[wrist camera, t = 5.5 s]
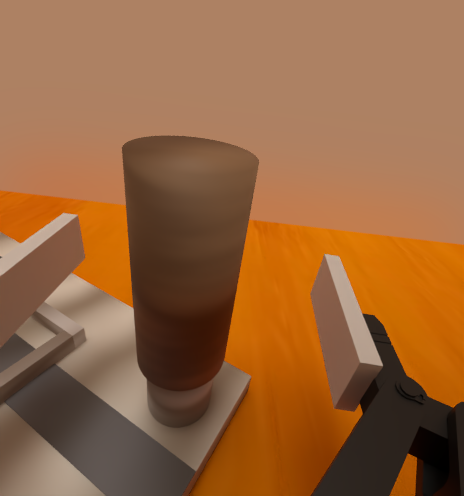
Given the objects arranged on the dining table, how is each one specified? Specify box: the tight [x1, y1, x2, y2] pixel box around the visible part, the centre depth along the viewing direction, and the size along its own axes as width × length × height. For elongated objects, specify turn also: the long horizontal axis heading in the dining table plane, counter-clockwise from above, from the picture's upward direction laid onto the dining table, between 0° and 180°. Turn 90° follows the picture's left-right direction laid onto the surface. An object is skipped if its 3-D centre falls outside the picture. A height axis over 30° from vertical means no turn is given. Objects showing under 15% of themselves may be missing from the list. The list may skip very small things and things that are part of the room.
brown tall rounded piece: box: [122, 136, 259, 428], centre depth 13 cm, size 4×4×14 cm
